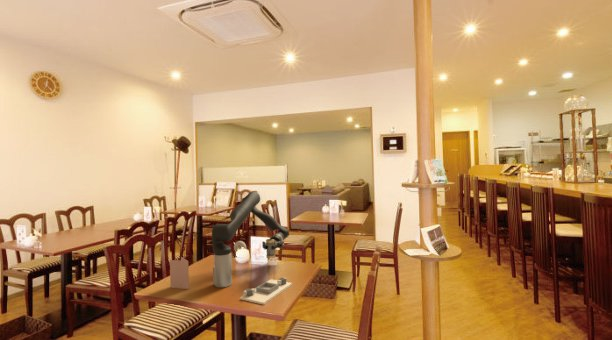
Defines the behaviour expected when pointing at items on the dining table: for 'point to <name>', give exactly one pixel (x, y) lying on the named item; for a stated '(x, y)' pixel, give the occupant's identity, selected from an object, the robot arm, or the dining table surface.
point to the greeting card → (179, 273)
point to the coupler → (270, 248)
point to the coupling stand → (266, 291)
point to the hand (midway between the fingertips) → (269, 248)
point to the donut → (239, 245)
